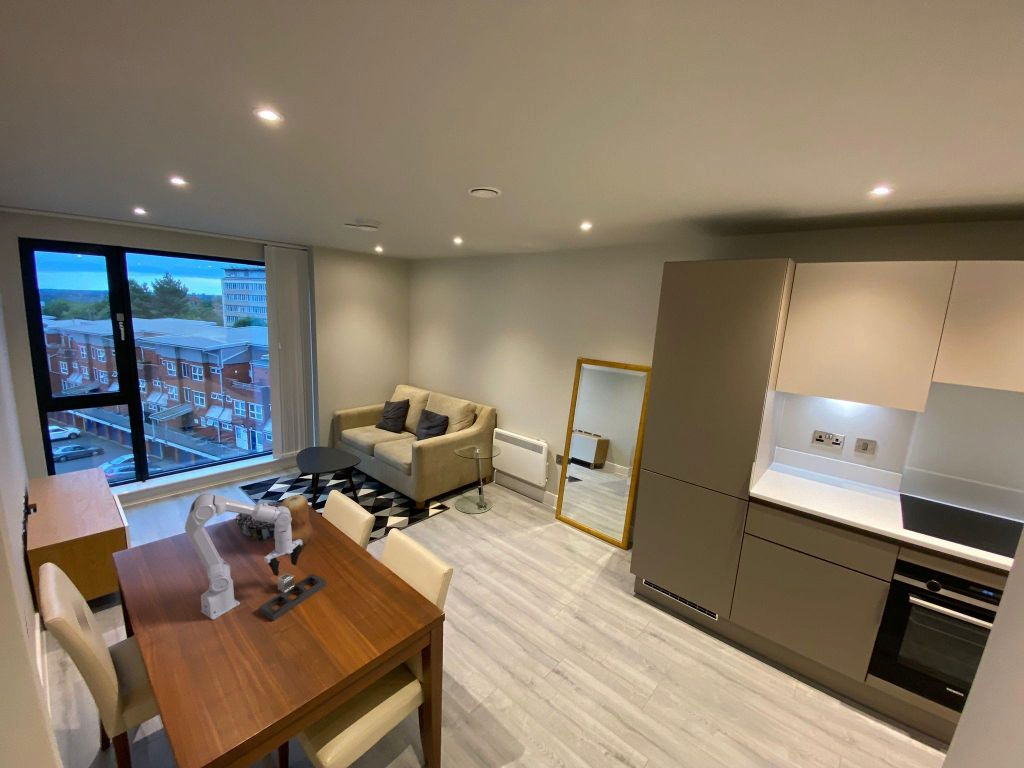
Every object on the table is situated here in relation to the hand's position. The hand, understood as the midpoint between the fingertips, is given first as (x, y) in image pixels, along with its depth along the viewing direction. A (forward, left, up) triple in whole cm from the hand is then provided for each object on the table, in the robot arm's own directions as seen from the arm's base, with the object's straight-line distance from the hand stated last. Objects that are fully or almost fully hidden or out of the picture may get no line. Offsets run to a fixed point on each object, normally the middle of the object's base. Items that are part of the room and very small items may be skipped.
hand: (285, 569), depth 162 cm
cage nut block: (0, 0, -8) cm, 8 cm away
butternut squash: (+20, +21, -8) cm, 30 cm away
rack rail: (-2, -8, -8) cm, 12 cm away
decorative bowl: (+22, +46, -9) cm, 51 cm away
